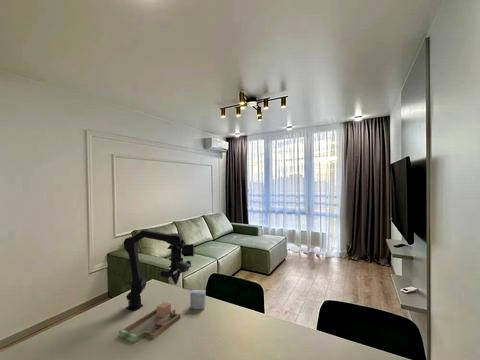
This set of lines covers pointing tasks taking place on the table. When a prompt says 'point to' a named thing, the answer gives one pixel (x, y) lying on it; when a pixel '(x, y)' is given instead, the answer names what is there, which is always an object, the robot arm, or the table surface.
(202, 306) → the medicine box
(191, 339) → the table surface
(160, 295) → the table surface
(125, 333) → the trap lane
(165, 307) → the block
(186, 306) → the table surface
